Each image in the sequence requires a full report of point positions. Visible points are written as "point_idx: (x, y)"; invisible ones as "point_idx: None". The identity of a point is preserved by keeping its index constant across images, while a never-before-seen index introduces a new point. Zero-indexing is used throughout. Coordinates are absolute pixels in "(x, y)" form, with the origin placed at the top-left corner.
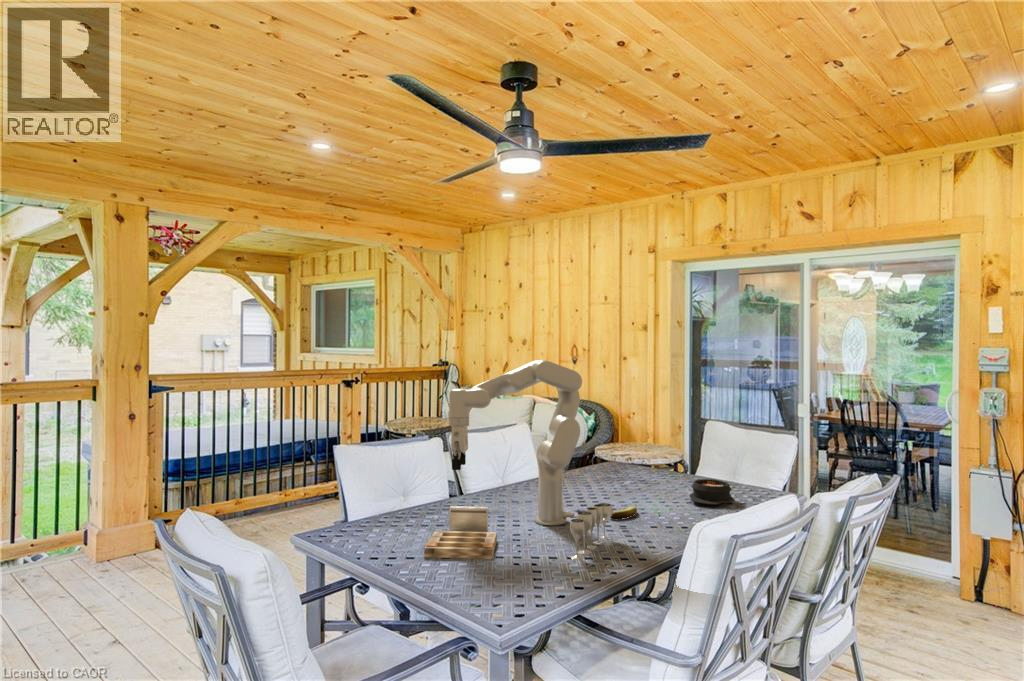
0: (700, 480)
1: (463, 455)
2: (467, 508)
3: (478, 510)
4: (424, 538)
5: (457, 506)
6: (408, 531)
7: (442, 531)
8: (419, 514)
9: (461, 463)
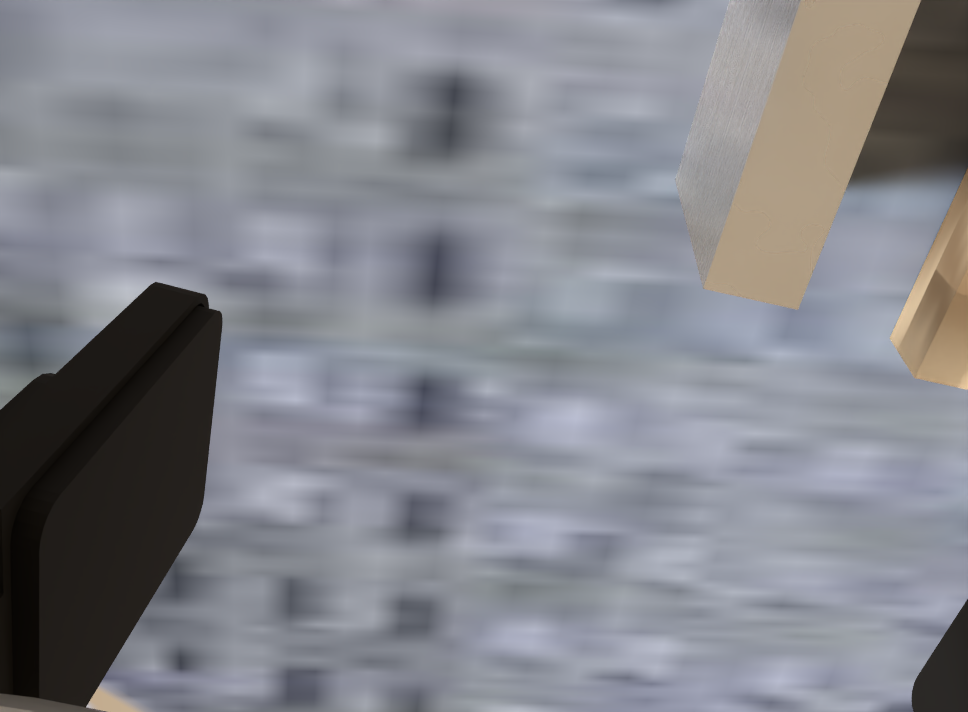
0: None
1: (52, 555)
2: (901, 48)
3: None
4: (827, 421)
5: (749, 196)
6: (590, 530)
7: (963, 309)
8: None
9: (200, 423)
